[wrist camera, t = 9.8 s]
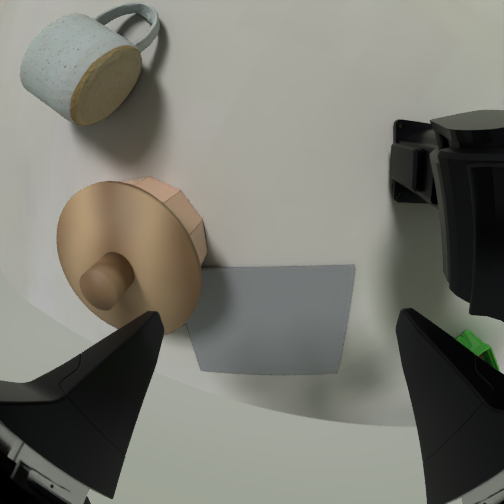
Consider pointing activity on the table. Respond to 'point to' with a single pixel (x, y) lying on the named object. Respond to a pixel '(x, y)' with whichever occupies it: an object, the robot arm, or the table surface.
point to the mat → (272, 319)
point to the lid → (128, 255)
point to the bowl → (177, 210)
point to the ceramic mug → (86, 63)
